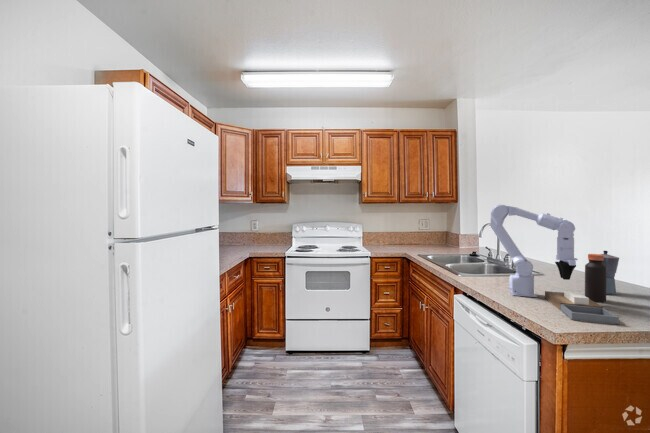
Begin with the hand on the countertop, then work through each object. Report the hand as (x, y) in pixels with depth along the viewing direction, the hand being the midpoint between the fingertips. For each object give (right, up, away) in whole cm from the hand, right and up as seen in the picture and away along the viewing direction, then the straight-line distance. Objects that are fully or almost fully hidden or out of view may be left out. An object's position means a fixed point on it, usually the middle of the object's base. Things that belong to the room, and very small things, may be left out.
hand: (565, 278), depth 123 cm
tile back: (-3, -7, -7) cm, 10 cm away
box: (-8, -10, -19) cm, 23 cm away
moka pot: (+27, -9, +10) cm, 30 cm away
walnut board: (-3, -10, -7) cm, 12 cm away
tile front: (-5, -7, -12) cm, 14 cm away
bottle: (+13, -10, 0) cm, 16 cm away
